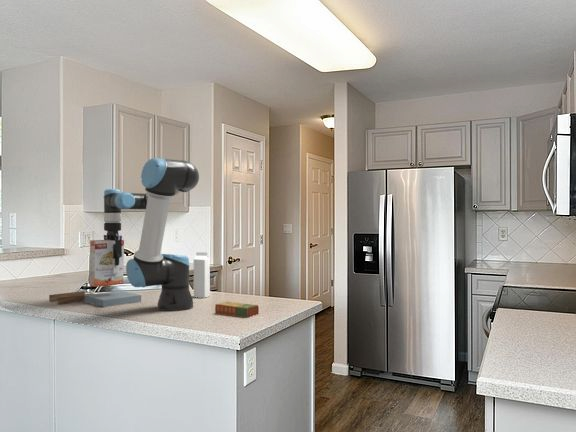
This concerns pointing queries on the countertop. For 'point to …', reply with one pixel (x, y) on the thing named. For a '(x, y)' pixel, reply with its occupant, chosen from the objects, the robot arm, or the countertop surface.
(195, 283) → the milk
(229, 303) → the carton
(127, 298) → the slate board
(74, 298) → the slot rack
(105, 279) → the cracker box
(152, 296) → the countertop surface
